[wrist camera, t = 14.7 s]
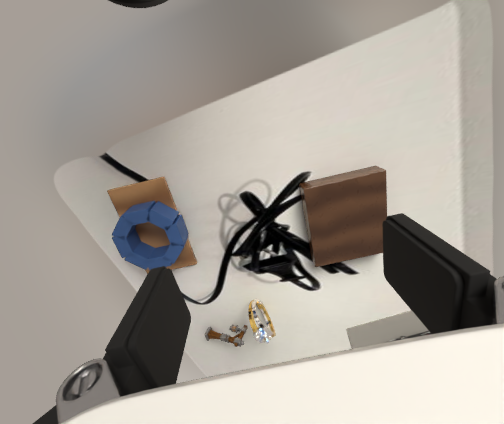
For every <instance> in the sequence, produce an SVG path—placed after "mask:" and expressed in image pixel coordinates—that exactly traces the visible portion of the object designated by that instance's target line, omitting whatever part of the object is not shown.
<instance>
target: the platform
mask: <svg viewBox="0 0 504 424" xmlns="http://www.w3.org/2000/svg"><path fill="white" fill-rule="evenodd" d="M299 186H300V192H301V198H302V204H303V210H304V216H305V222H306V229H307V235H308V241H309V247H310V253H311V258H312V260H313V262H314V264H315V266H316V267H318V266H323V265H328V264H332V263H337V262H342V261H346V260H351V259H356V258H360V257H365V256H370V255H374V254H379V253H383V227H382V224H383V221H385V220H386V218H387V195H386V170H384V169H382V168H380V167H377V166H373V167H368V168H364V169H360V170H356V171H351V172H347V173H343V174H338V175H334V176H330V177H326V178H321V179H317V180H313V181H308V182H304V183H300V184H299Z"/></svg>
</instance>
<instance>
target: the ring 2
mask: <svg viewBox="0 0 504 424" xmlns="http://www.w3.org/2000/svg"><path fill="white" fill-rule="evenodd" d="M256 305H257V306H258V308H259V309H260V310H261V311H262V313H263V315H264V317H265V320H266V323H267V327H268V328H267V327H266V326H265V325H264V324H263V323H262V322H261V321H260V319H259V317H258V315H257V312H256ZM253 315H254V317H253ZM254 318H255V320H256V322H257V323H258V325H259V326H258V328H257V326H256V324H255V321H254ZM249 320H250V324H251V328H252V330H253V332H254V334H253V336H254V338H255V340H257V341H259V342H260V343H262V342H267V343H269V340H270V339H271V337H274V336H276V333H275V330H274V327H273V324H272V322H271V319H270V317H269V315H268V313H267V311H266V309H265V307H264V305H263V303H262V302H261V301H260V300H258V299H255V300H252V301H251V302H250V304H249ZM257 333H258V334H257Z"/></svg>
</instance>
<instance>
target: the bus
mask: <svg viewBox="0 0 504 424" xmlns="http://www.w3.org/2000/svg"><path fill="white" fill-rule="evenodd" d="M347 332H348V336H349V339H350V343H351V347H352V349H355V348H360V347H366V346H371V345H376V344H382V343H387V342H392V341H398V340H403V339H408V338H414V337H419V336H425V335H431V333H430V332H429V330H428V329H427V328H426V327H425V326H424V324H423V323H422V322H421V321H420V320H419V318H418V317H417V316H416V315H415V314H414V312H413V311H412V310H411V311H407V312H404V313H400V314H397V315H393V316H389V317H386V318H382V319H379V320H375V321H372V322H368V323H365V324H361V325H357V326H354V327H350V328H347Z"/></svg>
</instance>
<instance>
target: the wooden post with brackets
mask: <svg viewBox="0 0 504 424" xmlns="http://www.w3.org/2000/svg"><path fill="white" fill-rule="evenodd" d="M230 330H231V331H232V332H236V333H237V331H241V332H240V334H238V335H236V336H234V337H230V335H227V334H223V333H222V334H220V333H217V332H214V331H212V329H211V328H210V327H209V328H208V330H207V331H206V333H205V337H206V339H207V341H209V339H220V340H221V341H225V342H227V343H229V342H230V343H234V345H235V346H236V347H237V346H240V347H241V345H244V341H242V337H243V335H244V334H245V333H246V330H247V326H246V325H244V327H243V328H242V329H241V330H240V328H238V325H237V326H234V325H232V326H230ZM237 337H238V338H237Z"/></svg>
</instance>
